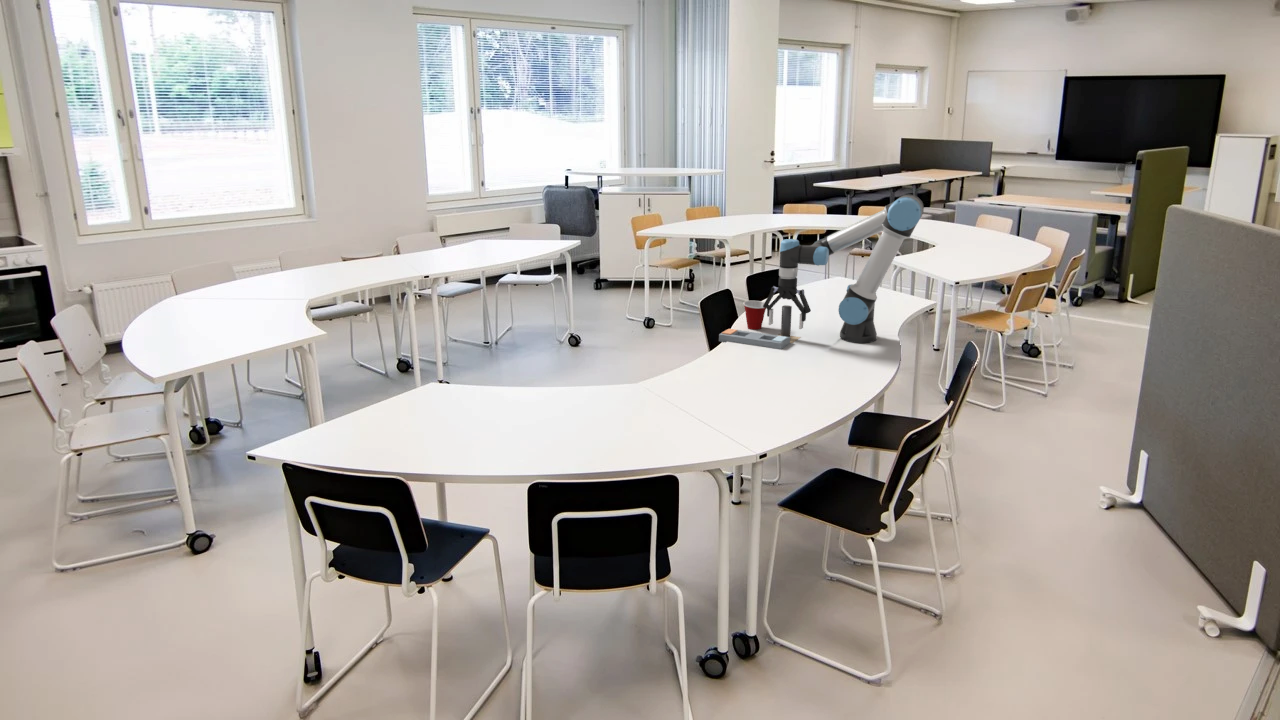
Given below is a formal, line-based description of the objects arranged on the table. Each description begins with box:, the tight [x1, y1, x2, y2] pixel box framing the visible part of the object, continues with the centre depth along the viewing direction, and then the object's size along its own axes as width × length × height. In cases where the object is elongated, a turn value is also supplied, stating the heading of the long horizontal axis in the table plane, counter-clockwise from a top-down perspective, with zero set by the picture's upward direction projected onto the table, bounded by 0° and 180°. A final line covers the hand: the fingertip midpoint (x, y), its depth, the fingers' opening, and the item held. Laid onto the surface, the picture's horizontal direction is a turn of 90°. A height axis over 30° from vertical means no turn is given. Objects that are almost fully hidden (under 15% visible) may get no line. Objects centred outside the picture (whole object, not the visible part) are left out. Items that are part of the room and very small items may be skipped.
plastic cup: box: [742, 300, 767, 331], centre depth 364 cm, size 11×11×12 cm
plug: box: [780, 304, 793, 337], centre depth 347 cm, size 4×4×14 cm
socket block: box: [718, 328, 791, 350], centre depth 346 cm, size 28×10×4 cm, turn 59°
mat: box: [776, 333, 801, 344], centre depth 350 cm, size 10×10×1 cm
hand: (785, 326), depth 348 cm, fingers open, 13 cm apart
